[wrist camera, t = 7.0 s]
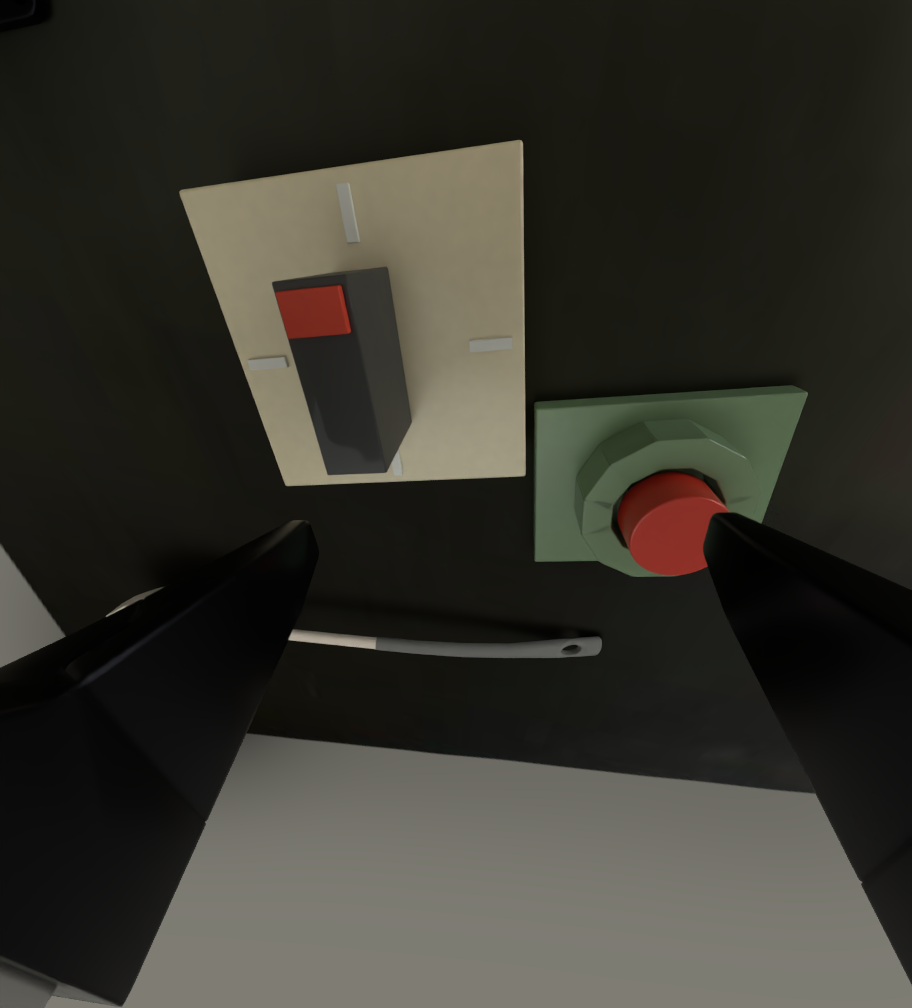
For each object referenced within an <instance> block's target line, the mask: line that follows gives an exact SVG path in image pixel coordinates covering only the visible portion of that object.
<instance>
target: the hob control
mask: <svg viewBox="0 0 912 1008" xmlns="http://www.w3.org/2000/svg"><path fill="white" fill-rule="evenodd" d="M180 196H181V199H182V202H183V205H184V207H185V210H186V213H187V216H188V218H189V221H190V224H191V227H192V229H193V232H194V235H195V238H196V240H197V243H198V246H199V249H200V251H201V254H202V257H203V260H204V262H205V265H206V268H207V271H208V273H209V276H210V279H211V282H212V284H213V287H214V290H215V293H216V295H217V298H218V301H219V304H220V306H221V309H222V312H223V315H224V317H225V320H226V323H227V326H228V328H229V331H230V334H231V337H232V339H233V342H234V345H235V348H236V350H237V353H238V356H239V359H240V361H241V364H242V367H243V370H244V372H245V375H246V378H247V381H248V383H249V386H250V389H251V392H252V394H253V397H254V400H255V403H256V405H257V408H258V411H259V414H260V416H261V419H262V422H263V425H264V428H265V430H266V433H267V436H268V439H269V441H270V444H271V447H272V450H273V452H274V455H275V458H276V461H277V463H278V466H279V469H280V472H281V474H282V477H283V480H284V483H285V485H286V486H299V485H323V484H347V483H372V482H396V481H420V480H444V479H468V478H492V477H517V476H525V474H526V443H525V324H524V205H523V143H522V141H521V140H515V141H508V142H501V143H494V144H488V145H481V146H474V147H467V148H461V149H454V150H447V151H440V152H434V153H427V154H420V155H413V156H407V157H400V158H393V159H386V160H380V161H373V162H366V163H359V164H353V165H346V166H339V167H332V168H326V169H319V170H312V171H305V172H299V173H292V174H285V175H278V176H271V177H265V178H258V179H251V180H244V181H238V182H231V183H224V184H217V185H211V186H204V187H197V188H190V189H184V190H181V191H180ZM379 267H387V268H388V272H389V278H390V285H391V291H392V297H393V304H394V310H395V316H396V323H397V329H398V336H399V342H400V348H401V355H402V361H403V368H404V374H405V380H406V387H407V393H408V399H409V406H410V412H411V419H412V423H411V425H410V427H409V429H408V431H407V433H406V435H405V437H404V439H403V441H402V443H401V445H400V447H399V449H398V451H397V453H396V455H395V457H394V459H393V461H392V463H391V465H390V467H389V469H388V471H387V472H386V473H372V474H347V475H328V474H327V471H326V468H325V465H324V461H323V458H322V454H321V451H320V447H319V444H318V441H317V437H316V434H315V430H314V427H313V423H312V420H311V417H310V413H309V410H308V406H307V403H306V399H305V396H304V393H303V389H302V386H301V382H300V379H299V375H298V372H297V369H296V365H295V362H294V358H293V355H292V351H291V348H290V345H289V341H288V338H287V334H286V331H285V328H284V324H283V321H282V317H281V314H280V310H279V307H278V304H277V300H276V297H275V293H274V290H273V286H272V282H274V281H280V280H287V279H293V278H300V277H306V276H313V275H320V274H326V273H333V272H342V271H351V270H361V269H370V268H379Z"/></svg>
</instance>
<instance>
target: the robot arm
mask: <svg viewBox="0 0 912 1008" xmlns="http://www.w3.org/2000/svg"><path fill="white" fill-rule="evenodd" d="M46 16H47V3H46V0H25V3H24V2H23V1H22V0H0V32H2V31H7V30H12V29H16V28H21V27H25V26H30V25H34V24H39V23H41V22H43V21H45V19H46ZM703 554H704V557H705V560H706V563H707V566H708V568H709V571H710V574H711V577H712V579H713V582H714V585H715V588H716V590H717V593H718V596H719V599H720V602H721V604H722V607H723V610H724V612H725V615H726V617H727V619H728V621H729V623H730V625H731V628H732V630H733V631H734V633H735V635H736V637H737V639H738V641H739V643H740V645H741V647H742V649H743V651H744V653H745V655H746V657H747V659H748V661H749V663H750V665H751V667H752V669H753V671H754V673H755V675H756V677H757V679H758V681H759V683H760V685H761V687H762V689H763V691H764V693H765V695H766V697H767V699H768V701H769V703H770V705H771V707H772V709H773V711H774V713H775V715H776V716H777V718H778V720H779V722H780V724H781V726H782V728H783V730H784V732H785V734H786V736H787V738H788V740H789V742H790V744H791V746H792V748H793V750H794V752H795V754H796V756H797V758H798V760H799V762H800V764H801V766H802V768H803V770H804V772H805V774H806V776H807V778H808V780H809V782H810V784H811V786H812V788H813V790H814V792H815V794H816V796H817V798H818V800H819V801H820V803H821V805H822V807H823V809H824V811H825V813H826V815H827V817H828V819H829V821H830V823H831V825H832V827H833V829H834V831H835V833H836V835H837V837H838V839H839V841H840V843H841V845H842V847H843V849H844V851H845V853H846V855H847V857H848V859H849V861H850V863H851V865H852V867H853V868H854V870H855V873H856V874H857V877H858V878H859V880H860V881H862V884H861V885H862V887H863V889H864V891H865V893H866V895H867V897H868V899H869V901H870V903H871V905H872V907H873V909H874V911H875V913H876V915H877V917H878V919H879V921H880V923H881V925H882V927H883V929H884V931H885V933H886V935H887V937H888V938H889V941H890V943H891V945H892V947H893V949H894V950H895V953H896V954H897V956H898V958H899V960H900V962H901V964H902V966H903V968H904V970H905V972H906V974H907V976H908V978H909V980H910V982H911V984H912V590H910V589H908V588H905V587H903V586H901V585H899V584H896V583H894V582H892V581H890V580H887V579H885V578H883V577H881V576H878V575H876V574H874V573H872V572H869V571H867V570H865V569H863V568H860V567H858V566H856V565H854V564H851V563H849V562H847V561H845V560H843V559H840V558H838V557H836V556H834V555H831V554H829V553H827V552H825V551H822V550H820V549H818V548H816V547H813V546H811V545H809V544H807V543H804V542H802V541H800V540H798V539H795V538H793V537H791V536H789V535H786V534H784V533H782V532H780V531H777V530H775V529H773V528H771V527H768V526H766V525H764V524H762V523H759V522H757V521H755V520H753V519H750V518H748V517H746V516H744V515H741V514H739V513H736V512H718V513H715V514H713V515H712V516H711V518H710V521H709V525H708V528H707V532H706V536H705V539H704V543H703ZM318 556H319V550H318V546H317V543H316V540H315V537H314V534H313V531H312V528H311V525H310V524H309V522H307V521H290V522H288V523H286V524H284V525H282V526H280V527H278V528H276V529H274V530H272V531H270V532H268V533H266V534H265V535H263V536H261V537H259V538H257V539H255V540H253V541H251V542H249V543H247V544H245V545H244V546H242V547H240V548H238V549H236V550H234V551H232V552H230V553H228V554H226V555H224V556H222V557H221V558H219V559H217V560H215V561H213V562H211V563H209V564H207V565H205V566H203V567H201V568H200V569H198V570H196V571H194V572H192V573H190V574H188V575H186V576H184V577H182V578H180V579H179V580H177V581H175V582H173V583H171V584H169V585H167V586H165V587H163V588H161V589H159V590H157V591H156V592H154V593H152V594H150V595H148V596H146V597H145V598H144V599H140V600H138V601H136V602H134V603H132V604H131V605H129V606H127V607H125V608H123V609H121V610H119V611H117V612H115V613H113V614H111V615H109V616H107V617H105V618H103V619H101V620H99V621H97V622H95V623H93V624H91V625H89V626H87V627H85V628H83V629H81V630H79V631H77V632H75V633H73V634H71V635H69V636H66V637H64V638H62V639H60V640H58V641H56V642H54V643H52V644H50V645H48V646H45V647H43V648H41V649H39V650H37V651H35V652H33V653H31V654H29V655H27V656H24V657H22V658H20V659H18V660H16V661H14V662H11V663H9V664H7V665H5V666H3V667H1V668H0V1008H44V1007H45V1006H46V1004H47V1002H48V1000H49V999H50V997H51V996H57V997H63V998H69V999H75V1000H81V1001H87V1002H93V1003H99V1004H105V1005H111V1006H118V1007H122V1006H123V1004H124V1002H125V1001H126V998H127V997H128V995H129V993H130V991H131V989H132V987H133V985H134V983H135V981H136V978H137V976H138V974H139V972H140V969H141V967H142V965H143V963H144V960H145V958H146V956H147V954H148V952H149V949H150V947H151V945H152V942H153V940H154V938H155V936H156V934H157V932H158V929H159V927H160V925H161V923H162V920H163V918H164V916H165V914H166V912H167V909H168V907H169V905H170V902H171V900H172V898H173V896H174V894H175V892H176V889H177V887H178V885H179V882H180V880H181V878H182V876H183V874H184V871H185V869H186V867H187V865H188V863H189V860H190V858H191V856H192V854H193V851H194V849H195V847H196V845H197V842H198V840H199V838H200V836H201V833H202V831H203V829H204V827H205V825H206V823H205V821H207V819H208V817H209V815H210V813H211V811H212V808H213V806H214V804H215V802H216V799H217V797H218V795H219V793H220V791H221V788H222V786H223V784H224V782H225V780H226V777H227V775H228V773H229V771H230V768H231V766H232V764H233V762H234V759H235V757H236V755H237V753H238V751H239V748H240V746H241V744H242V742H243V739H244V737H245V735H246V733H247V731H248V728H249V726H250V724H251V722H252V719H253V717H254V715H255V713H256V710H257V708H258V706H259V704H260V702H261V699H262V697H263V695H264V693H265V690H266V688H267V686H268V684H269V682H270V679H271V677H272V675H273V673H274V670H275V668H276V666H277V664H278V661H279V659H280V657H281V655H282V653H283V650H284V648H285V646H286V644H287V641H288V639H289V637H290V635H291V633H292V630H293V628H294V626H295V624H296V621H297V619H298V617H299V614H300V612H301V609H302V606H303V604H304V601H305V598H306V594H307V591H308V588H309V585H310V582H311V579H312V576H313V573H314V570H315V566H316V563H317V560H318Z"/></svg>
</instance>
